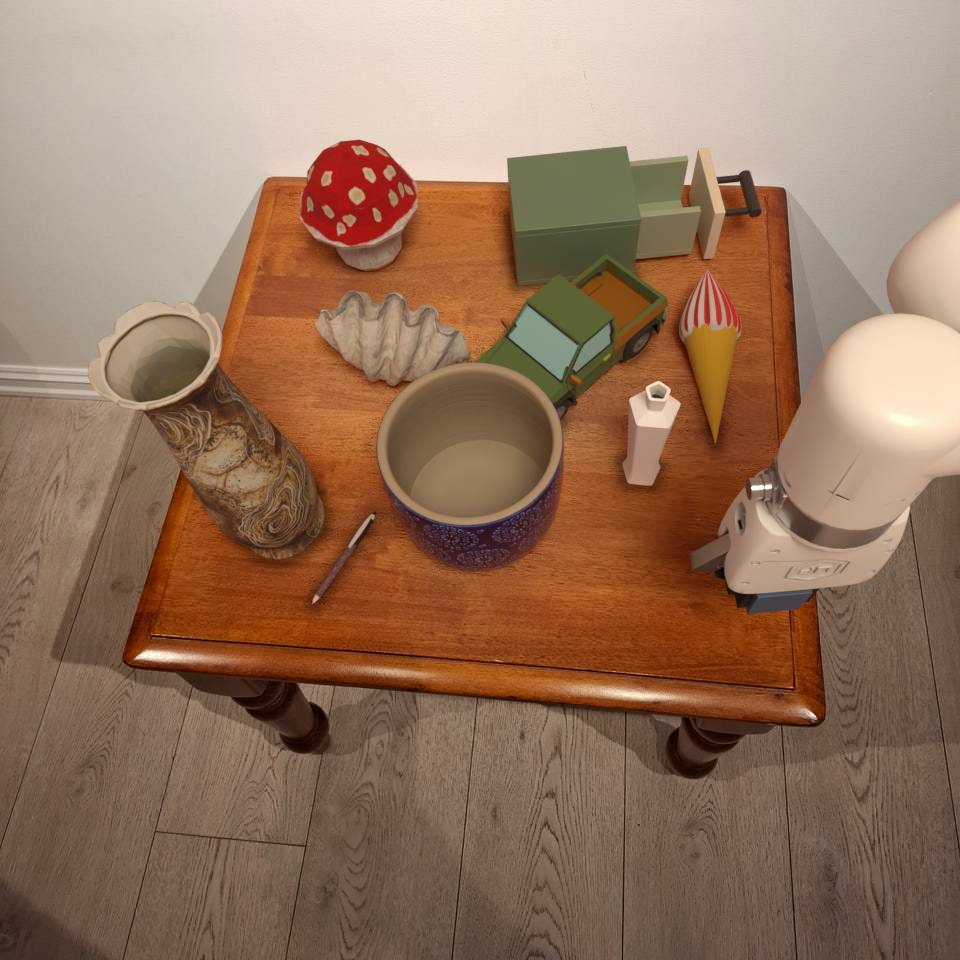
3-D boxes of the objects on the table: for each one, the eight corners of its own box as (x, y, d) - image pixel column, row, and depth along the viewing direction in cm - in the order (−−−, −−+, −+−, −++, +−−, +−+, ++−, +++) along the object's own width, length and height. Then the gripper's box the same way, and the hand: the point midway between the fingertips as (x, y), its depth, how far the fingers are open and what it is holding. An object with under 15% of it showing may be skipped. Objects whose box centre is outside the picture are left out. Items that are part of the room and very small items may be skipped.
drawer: (738, 191, 102) (752, 142, 95) (756, 254, 97) (771, 207, 91) (595, 205, 102) (598, 158, 96) (606, 268, 98) (610, 223, 91)
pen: (373, 512, 87) (371, 507, 86) (379, 515, 86) (377, 511, 86) (309, 603, 83) (307, 600, 82) (316, 607, 82) (313, 604, 82)
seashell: (373, 306, 99) (356, 247, 90) (479, 359, 94) (472, 303, 86) (320, 369, 95) (297, 314, 86) (427, 427, 91) (414, 375, 82)
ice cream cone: (698, 455, 92) (690, 286, 96) (755, 447, 88) (745, 271, 93) (673, 443, 87) (667, 266, 92) (732, 433, 83) (723, 249, 88)
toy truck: (464, 390, 93) (455, 336, 84) (598, 280, 98) (604, 218, 89) (536, 455, 88) (536, 404, 80) (673, 336, 94) (686, 276, 85)
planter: (589, 478, 87) (597, 402, 73) (514, 615, 81) (508, 559, 68) (451, 417, 91) (434, 334, 78) (370, 542, 85) (338, 476, 72)
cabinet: (620, 204, 103) (626, 145, 95) (633, 275, 98) (641, 218, 90) (509, 215, 104) (506, 157, 96) (517, 286, 99) (515, 231, 91)
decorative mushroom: (413, 303, 99) (392, 209, 85) (301, 289, 101) (264, 195, 87) (439, 215, 105) (424, 114, 91) (333, 203, 107) (303, 103, 93)
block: (787, 561, 66) (800, 542, 63) (799, 609, 65) (813, 592, 61) (736, 565, 67) (746, 547, 63) (747, 614, 65) (757, 598, 61)
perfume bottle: (669, 485, 86) (692, 408, 72) (627, 493, 86) (642, 417, 72) (657, 446, 88) (677, 365, 75) (616, 454, 88) (629, 374, 74)
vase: (315, 572, 84) (208, 419, 57) (215, 559, 86) (65, 404, 59) (339, 480, 89) (250, 299, 62) (244, 469, 90) (117, 287, 63)
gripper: (703, 557, 48) (667, 643, 64) (1005, 529, 47) (891, 623, 63) (680, 442, 51) (652, 552, 68) (961, 414, 50) (864, 532, 67)
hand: (768, 585), depth 65 cm, fingers closed on block, 4 cm apart
